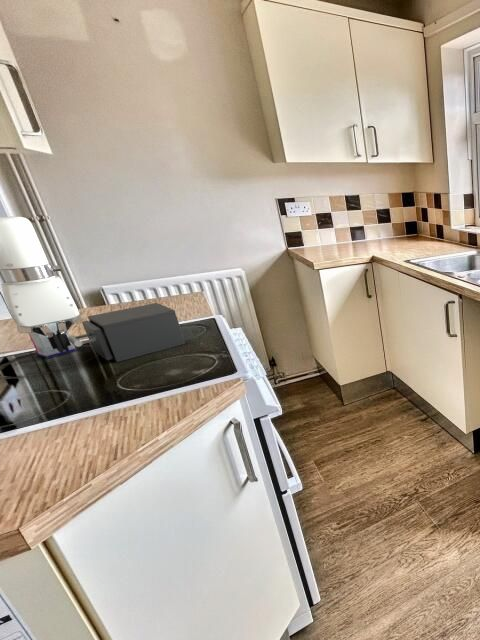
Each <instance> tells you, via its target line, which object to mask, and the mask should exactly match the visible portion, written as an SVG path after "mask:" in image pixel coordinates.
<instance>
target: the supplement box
mask: <svg viewBox="0 0 480 640" xmlns="http://www.w3.org/2000/svg"><path fill="white" fill-rule="evenodd" d="M46 325H47V326H48V328H49V329H50V331H51V332H53V333H54V334H55V335H56V334H57V332H56V331H57V327H56V322H55V323H50V324H46ZM36 327H38V326H36ZM28 335H29V338H30V341H31V342H32V345H33V347H34V349H35V351H36V354H37V356H40V357H44V358H46V359H50V358H53V357H57V356H60V355H64V354H68V353H72V352H75V351H76V346H75V345H74V344H72V343H71V342H70V341H69V342H70V344H71V345H70V346H68V348H69V350H68V351H65V350H64V349H63V350H64V351H63V352H59V351H58V350H57V349H53V348H52V346H51V344H50V342H49V340H48V338H47V337H46V336H44V335H41V334H38V333H28ZM66 335H67V337H69V336H71V334H70V332H69V330H68V331H67V333H66Z"/></svg>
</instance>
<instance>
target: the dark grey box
mask: <svg viewBox="0 0 480 640" xmlns="http://www.w3.org/2000/svg"><path fill="white" fill-rule="evenodd" d="M81 324H82V326H83V329H84V331H85V334H80V335H76V336H75V335H70V336H69V337H68V340H69V341H70V342H71V343H72V344H74V347H77V348H79V347H82V346H83V345H84V344H88V343H90V345H91V346H90V347H91V348H92V350H93V351H94V352H95V353H97V354H98V355H99V356H101V357H102V358H103V359H105V360H106V361H110V360H113V357H112V355H111V352H110V350H109V349H111V348H110V347H109V346H108V344H107V341H106V339H105V336H104V334H103V332H104V330H103V328H102V327H100V326H99V325H98V327H97V326H95V325H94V324H92V323H91V322H90V321H89V320H83V321H81ZM84 338H88V339H85V340H80V339H84Z"/></svg>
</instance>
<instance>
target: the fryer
mask: <svg viewBox="0 0 480 640" xmlns="http://www.w3.org/2000/svg"><path fill="white" fill-rule="evenodd" d="M87 320H88V321H89V322H91V323H92V324H94V325H95V326H97V327H98V325H99V326H100V327H102V328H103V330H104V333H105V335H106V338H107V340H108V343H109V345H110V348H111V349H109V350H110V352H111V355H112V357H113V359H112V360H113V361H114V362H116V363H119V362H123V361H126V360H130V359H134V358H138V357H141V356H145V355H149V354H153V353H156V352H157V353H158V352H160V351H164V350H167V349H172V348H175V347H179V346H182V345H186V340H185V337H184V334H183V332H182V328H181V325H180V322H179V319H178V315H177V313H176V310H175V309H173V308H171V307H168V306H166V305H163V304H161V303H158V302H154V303H149V304H148V303H147V304H143V305H138V306H133V307H128V308H123V309H119V310H114V311H108V312H102V313H98V314H92V315H88V316H87Z"/></svg>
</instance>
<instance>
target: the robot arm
mask: <svg viewBox="0 0 480 640" xmlns="http://www.w3.org/2000/svg"><path fill="white" fill-rule="evenodd" d="M39 239H40V238H39V237H38V235H37V233H36V230H35V228H34V226H33V223H32V222H31V221H30V220H29V219H28V218H27V217H23V216H0V273H1V275H2V278H3V280H4V281H5V282H4V283H1V290H2V294H3V297H4V301H5V303H6V305H7V308H8V310H9V313H10V314H11V317H12V319H13V321H14V322H15V323H16V329H17V332H18V333H20V334H29V333H38V334H41V335H44V336H46V337H47V338H48V340H49V342H50V344H51V346H52V348H53V349H57V350H58V351H59V352H63V351H64V350H65V351H68V350H69V348H68V346H70V345H71V344H70V342H69V340H68V337H67V335H66V333H67V331H68V332H69V330H70V328H71V327H72V326H73V325H75V324H78V323H80V322H81V323H82V322H83V321H84V318H83V316H82V315H81V314H80V313H79V309H78V307H77V304H76V303H75V301H74V298H73V297H72V294H71V293H70V291H69V289H68V288H67V286H66V285H65V283H64V282H63V279H61V277H60V276H59V275H56V273H58V272H62V268H61V266H60V265H58V264H57V265H52V264H50V263H49V262H50V261H49V260H48V258H47V255H46V253H45V251H44V249H43V246H42V244H41V241H40V240H39ZM55 322H56V327H57V331H56V332H57V334H56V335H55V334H54V333H53V332H51V331H50V329H49V328H48V326H47V325H46V324H50V323H55ZM36 326H38V327H36ZM63 349H64V350H63Z"/></svg>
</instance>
